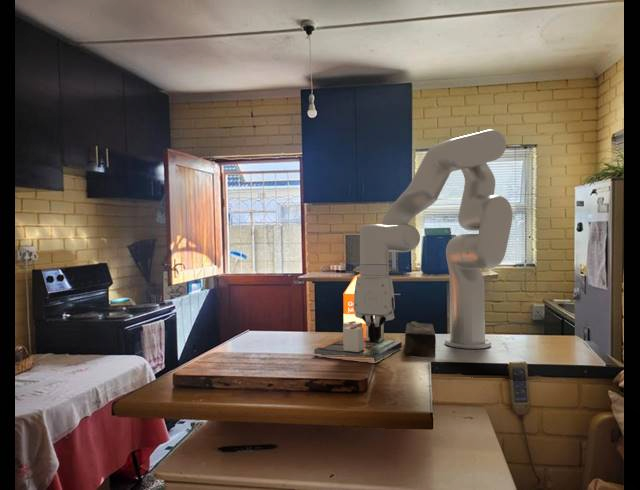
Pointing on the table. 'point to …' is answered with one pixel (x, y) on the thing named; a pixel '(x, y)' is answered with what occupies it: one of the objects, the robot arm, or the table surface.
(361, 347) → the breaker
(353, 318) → the orange juice
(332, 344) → the panel
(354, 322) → the breaker mid
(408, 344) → the beverage carton
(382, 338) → the breaker
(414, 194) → the robot arm
